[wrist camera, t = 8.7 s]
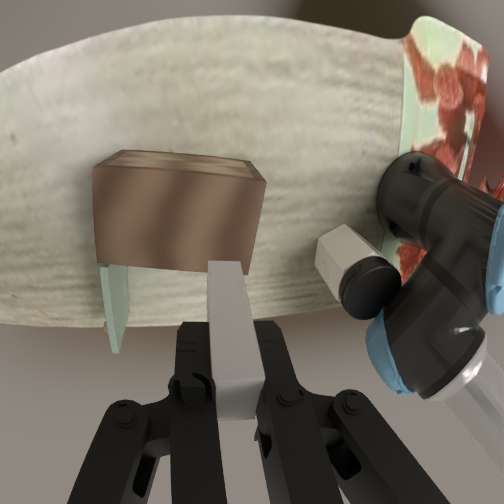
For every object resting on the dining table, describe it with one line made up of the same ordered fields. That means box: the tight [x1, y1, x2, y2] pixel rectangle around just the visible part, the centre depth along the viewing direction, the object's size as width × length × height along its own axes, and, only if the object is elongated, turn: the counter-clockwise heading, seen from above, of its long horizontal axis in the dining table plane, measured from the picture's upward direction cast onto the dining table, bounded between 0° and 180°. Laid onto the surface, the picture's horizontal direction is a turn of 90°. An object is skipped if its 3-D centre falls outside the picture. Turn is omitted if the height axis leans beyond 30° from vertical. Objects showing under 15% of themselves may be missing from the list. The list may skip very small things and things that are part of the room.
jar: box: [314, 224, 402, 320], centre depth 37 cm, size 9×8×12 cm
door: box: [100, 263, 129, 354], centre depth 34 cm, size 14×3×9 cm, turn 168°
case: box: [93, 150, 267, 275], centre depth 30 cm, size 16×10×10 cm, turn 80°
